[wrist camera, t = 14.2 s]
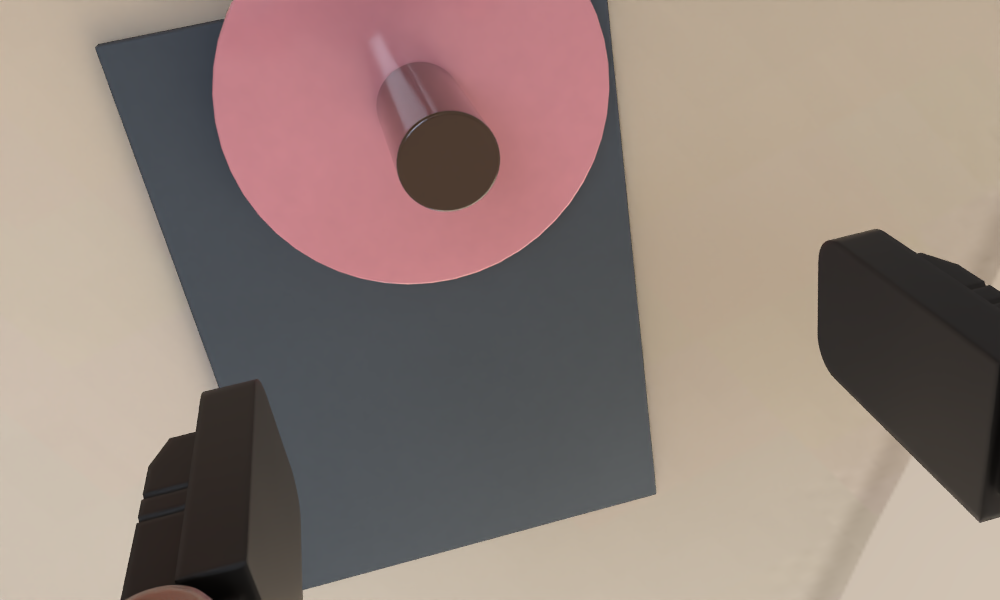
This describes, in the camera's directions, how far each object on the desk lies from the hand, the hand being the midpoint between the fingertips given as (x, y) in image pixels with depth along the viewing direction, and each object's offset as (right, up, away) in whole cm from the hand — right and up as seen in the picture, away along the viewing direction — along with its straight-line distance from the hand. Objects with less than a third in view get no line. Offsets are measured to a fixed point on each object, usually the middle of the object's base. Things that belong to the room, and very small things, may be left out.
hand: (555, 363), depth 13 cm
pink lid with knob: (-3, +7, +13) cm, 15 cm away
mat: (-3, +1, +17) cm, 17 cm away
